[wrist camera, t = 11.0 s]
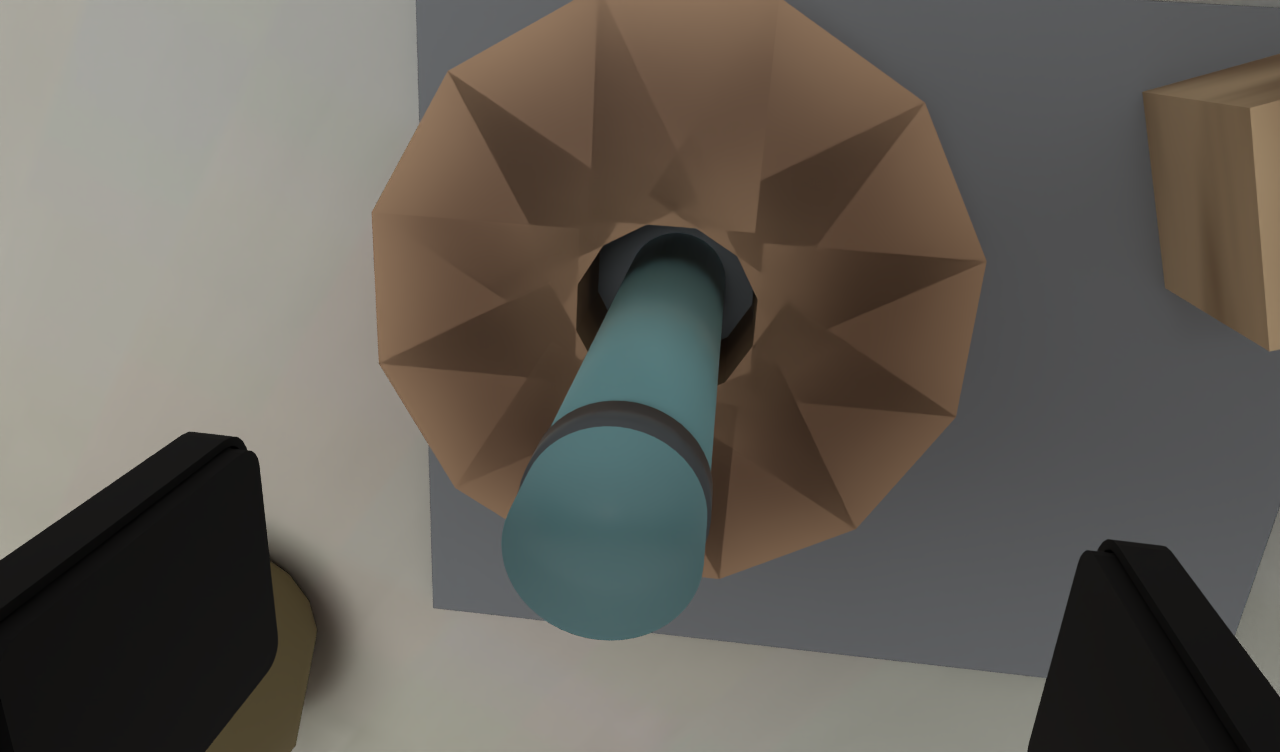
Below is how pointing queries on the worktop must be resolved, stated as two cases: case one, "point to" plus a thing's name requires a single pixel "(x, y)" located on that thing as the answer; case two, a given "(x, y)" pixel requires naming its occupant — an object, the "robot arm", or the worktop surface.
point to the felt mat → (992, 348)
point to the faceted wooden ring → (692, 198)
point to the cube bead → (1221, 193)
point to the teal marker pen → (628, 458)
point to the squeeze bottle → (277, 679)
